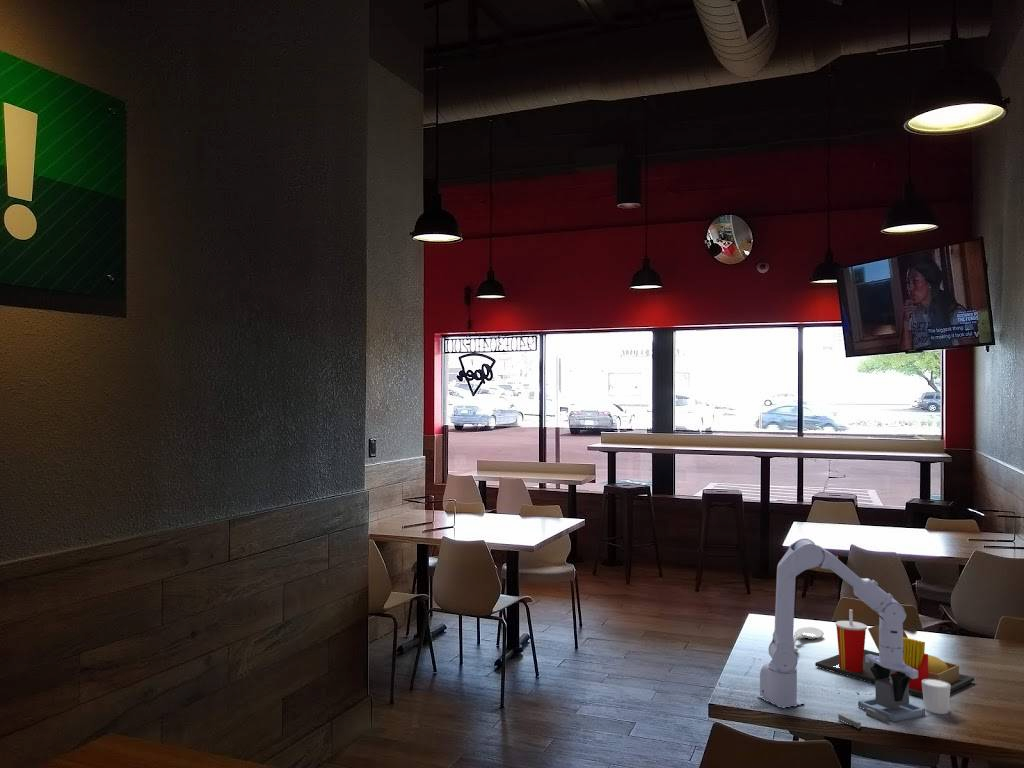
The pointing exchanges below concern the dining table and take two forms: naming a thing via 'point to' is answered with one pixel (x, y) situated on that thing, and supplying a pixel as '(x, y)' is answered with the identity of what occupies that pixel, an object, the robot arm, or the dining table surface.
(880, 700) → the grey bar
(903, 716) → the tray
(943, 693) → the white cup
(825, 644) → the dining table surface
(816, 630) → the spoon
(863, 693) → the dining table surface
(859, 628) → the fast food meal
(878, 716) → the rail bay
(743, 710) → the dining table surface
